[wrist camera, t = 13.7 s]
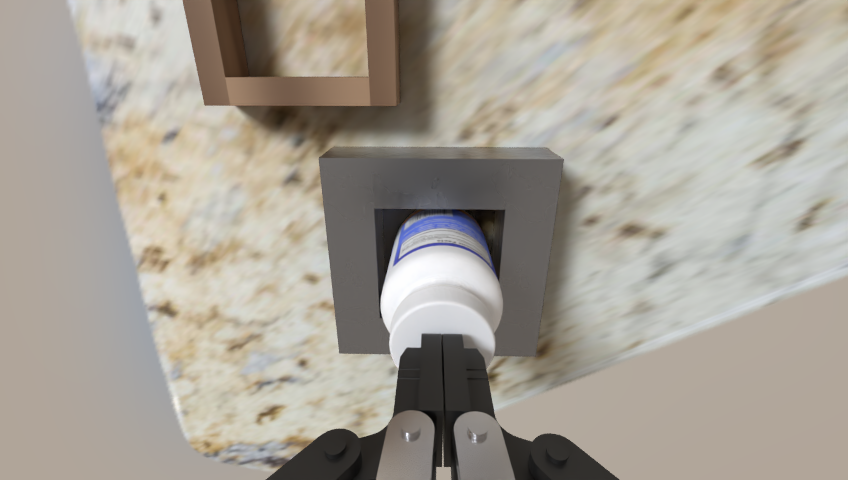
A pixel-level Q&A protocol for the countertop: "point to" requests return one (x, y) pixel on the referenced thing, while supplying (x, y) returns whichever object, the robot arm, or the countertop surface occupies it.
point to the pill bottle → (441, 283)
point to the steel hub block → (439, 189)
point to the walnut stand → (231, 85)
